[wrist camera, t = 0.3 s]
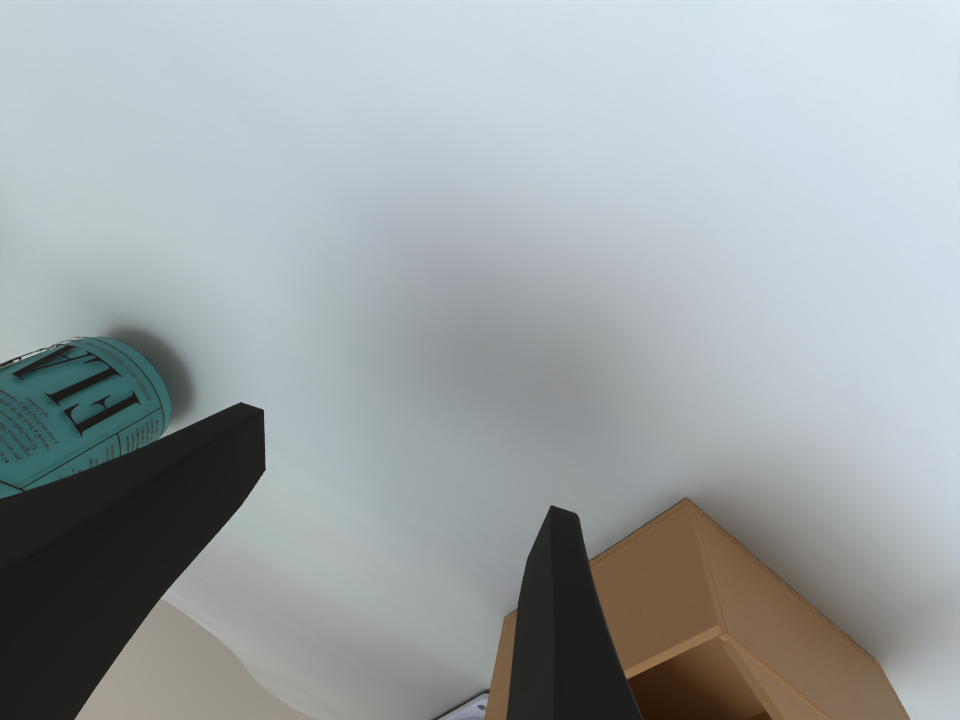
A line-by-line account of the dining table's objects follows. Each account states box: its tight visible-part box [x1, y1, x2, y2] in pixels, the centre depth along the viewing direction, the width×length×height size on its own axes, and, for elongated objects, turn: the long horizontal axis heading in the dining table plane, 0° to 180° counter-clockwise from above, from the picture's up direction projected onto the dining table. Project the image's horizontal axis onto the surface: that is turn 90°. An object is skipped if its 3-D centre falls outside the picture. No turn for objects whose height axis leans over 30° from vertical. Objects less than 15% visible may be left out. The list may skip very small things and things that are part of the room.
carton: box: [484, 498, 910, 720], centre depth 22 cm, size 13×13×7 cm
